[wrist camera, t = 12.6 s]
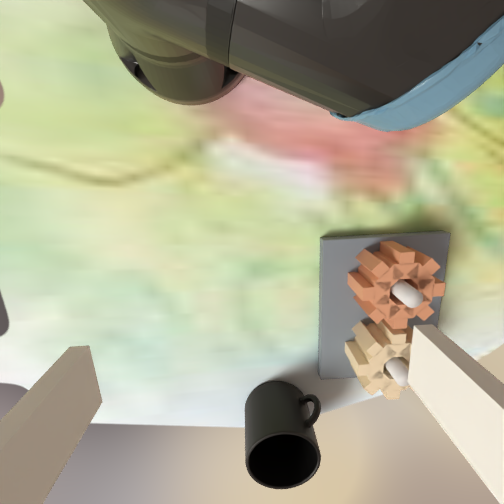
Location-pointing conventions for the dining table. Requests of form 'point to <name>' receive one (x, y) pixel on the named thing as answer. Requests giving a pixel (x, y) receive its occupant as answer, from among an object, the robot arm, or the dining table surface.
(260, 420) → the mug
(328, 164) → the dining table surface
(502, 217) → the dining table surface
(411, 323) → the gear board
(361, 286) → the gear
